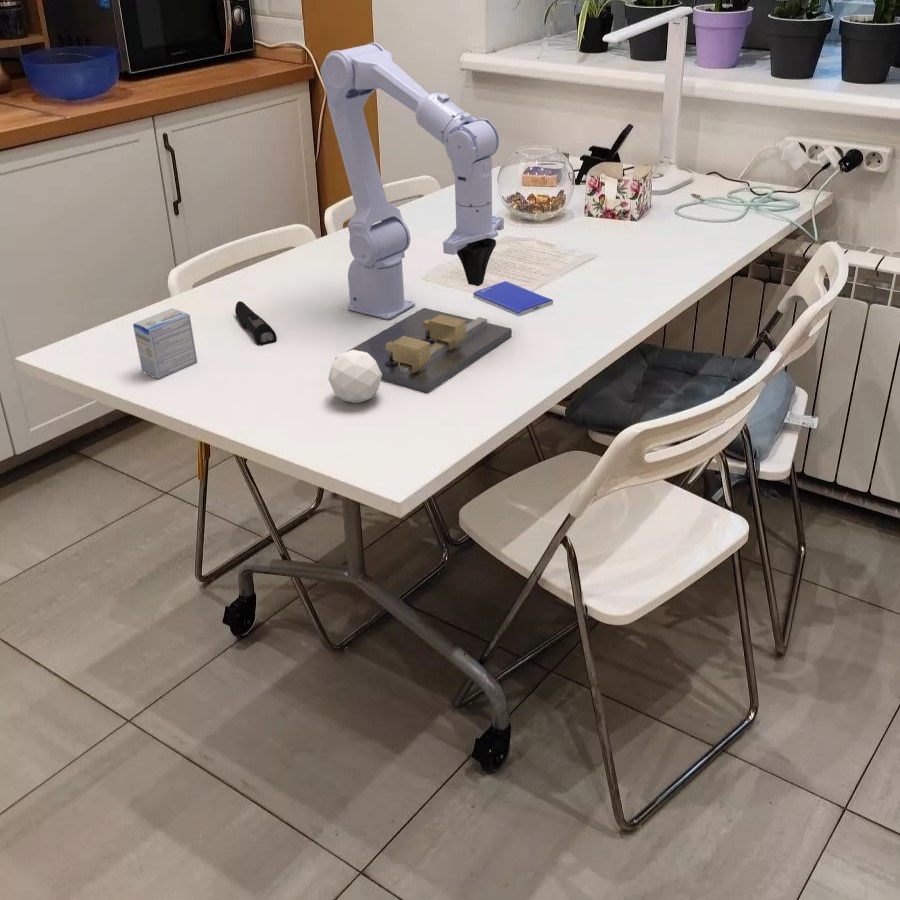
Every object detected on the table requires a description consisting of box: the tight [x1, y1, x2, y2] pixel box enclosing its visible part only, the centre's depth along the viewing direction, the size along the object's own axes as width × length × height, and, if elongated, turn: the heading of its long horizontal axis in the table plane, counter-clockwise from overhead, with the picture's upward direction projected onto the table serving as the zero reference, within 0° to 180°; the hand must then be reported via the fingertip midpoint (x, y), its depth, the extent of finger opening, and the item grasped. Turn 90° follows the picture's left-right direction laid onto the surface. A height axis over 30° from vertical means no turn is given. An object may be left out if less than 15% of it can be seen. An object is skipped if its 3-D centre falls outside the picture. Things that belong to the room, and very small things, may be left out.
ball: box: [327, 350, 382, 404], centre depth 154 cm, size 8×8×8 cm
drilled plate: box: [334, 307, 513, 394], centre depth 168 cm, size 18×24×6 cm
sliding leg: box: [423, 314, 466, 350], centre depth 166 cm, size 7×3×4 cm, turn 55°
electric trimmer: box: [234, 300, 278, 347], centre depth 180 cm, size 4×15×3 cm, turn 27°
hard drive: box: [472, 280, 554, 317], centre depth 187 cm, size 2×8×12 cm
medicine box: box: [132, 308, 198, 380], centre depth 165 cm, size 8×4×9 cm, turn 141°
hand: (475, 283), depth 169 cm, fingers closed
